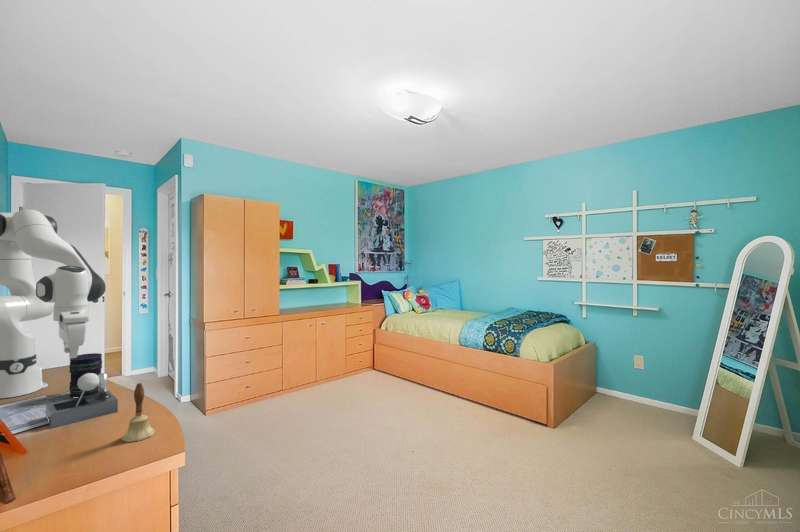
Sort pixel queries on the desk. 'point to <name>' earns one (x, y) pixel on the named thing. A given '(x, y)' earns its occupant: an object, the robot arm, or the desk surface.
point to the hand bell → (138, 420)
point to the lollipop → (87, 383)
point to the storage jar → (84, 371)
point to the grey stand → (83, 406)
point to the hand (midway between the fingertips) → (70, 355)
